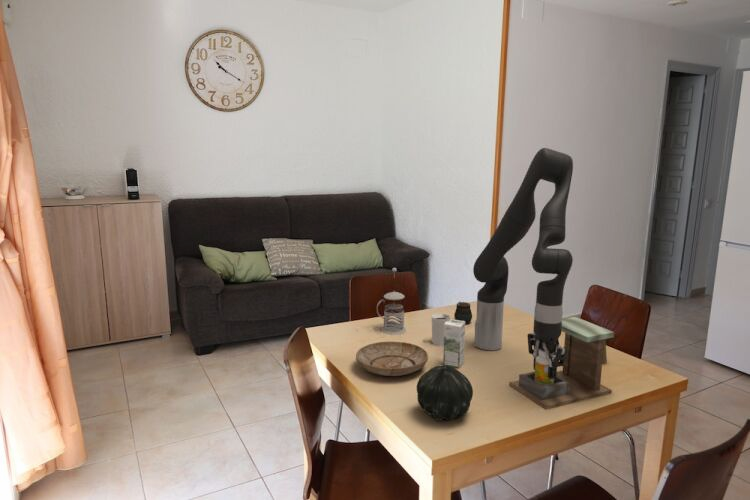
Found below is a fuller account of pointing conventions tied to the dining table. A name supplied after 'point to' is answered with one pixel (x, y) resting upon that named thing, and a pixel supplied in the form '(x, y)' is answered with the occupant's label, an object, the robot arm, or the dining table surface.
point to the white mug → (438, 328)
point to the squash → (444, 392)
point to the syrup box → (454, 343)
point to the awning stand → (572, 368)
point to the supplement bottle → (542, 369)
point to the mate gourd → (463, 312)
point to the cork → (604, 353)
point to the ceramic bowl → (391, 358)
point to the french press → (393, 314)
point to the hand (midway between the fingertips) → (544, 373)
